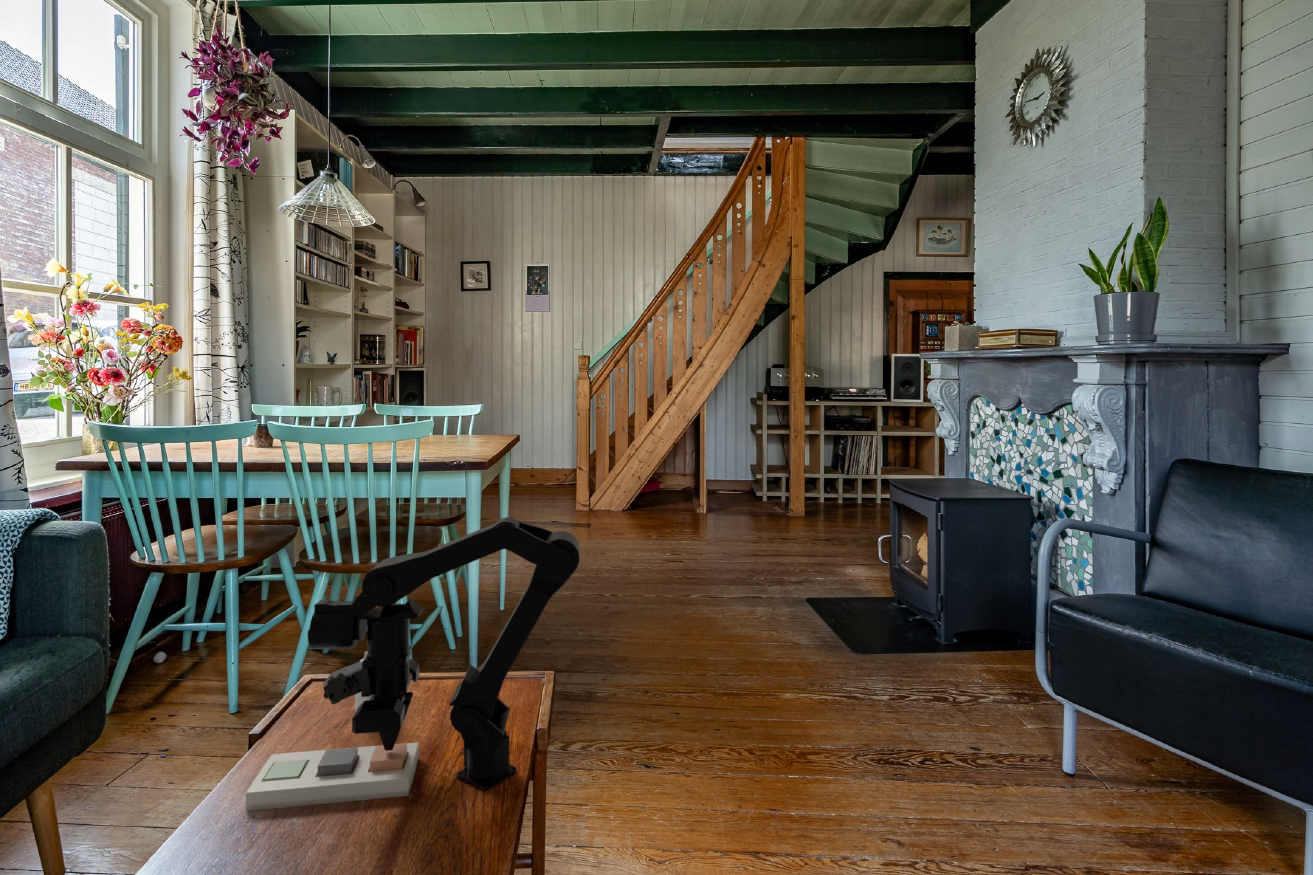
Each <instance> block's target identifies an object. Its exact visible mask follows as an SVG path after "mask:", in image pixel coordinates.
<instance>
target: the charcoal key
mask: <svg viewBox="0 0 1313 875" xmlns="http://www.w3.org/2000/svg"><path fill="white" fill-rule="evenodd" d="M333 749H334V750H332V749H325V750H326V751H325V753H324V755H323V757H322V759H321V761H320V763H319V764H318V777H321V776H332V775H343V774H352V773H353V771H354V768H355V766H356V764H357V761H358V748H356V747H347V748H346V749H344V748H333Z"/></svg>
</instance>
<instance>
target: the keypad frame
mask: <svg viewBox="0 0 1313 875" xmlns="http://www.w3.org/2000/svg"><path fill="white" fill-rule="evenodd" d="M405 744H407V758H406V761H405V764H404V768H403V769H400V770H389V771H378V772H370V760H371V758H372V755H373V753H374V750H375V748H376V746H377V745H369V746H357V747H355V748H358V761H357V764H356V766H355V768H354V771H353V773H352V774H343V775H332V776H321V777H318V764H319V763H320V761H321V759H322V757H323V755H324V753H325V751H326V750H327V749H321V750H310V751H296V752H284V753H273V754H271V755H270V757H269V758H268V759H267V761H266V762H265V764H264V765H263V767H262V768H261V770H260V771H259V773H258V774H257V776H256V777H255V779H254V780H253V782H252V783H251V785H250V786H249V788H248V789H247V791H245V806H246V807H245V808H246V810H245V811H246V812H250V811H251V812H252V811H261V810H273V809H284V808H294V807H303V806H314V805H326V804H335V803H337V804H338V803H344V802H345V803H348V802H356V801H357V802H359V801H369V800H377V799H387V798H388V799H390V798H397V797H398V798H400V797H409V796H410V792H411V789H412V784H413V780H414V777H415V773H416V769H417V765H418V762H419V760H420V759H419V749H420V748H419V742H411V743H410V742H409V743H407V742H406V743H405ZM395 745H396V743H395ZM380 746H383V744H382V745H380ZM334 749H335V748H333V749H331V750H334ZM343 749H346V748H345V747H343ZM306 759H307V766H306V768H305V770H304V771H303V773H302V775H301V777H300V778H298V779H287V780H275V781H264V778H265V776H266V775H267V773H268V772H269V770H270V769H271V767H272V766H273V764H274V763H275V762H282V761H294V760H306Z"/></svg>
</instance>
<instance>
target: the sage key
mask: <svg viewBox="0 0 1313 875" xmlns="http://www.w3.org/2000/svg"><path fill="white" fill-rule="evenodd" d="M306 766H307V759H306V760H294V761H282V762H275V763H274V764H273V766H272V767H271V769H270V770H269V772H268V773H267V775H266V776H265V778H264V781H275V780H287V779H298V778H300V777H301V775H302V773H303V771H304V770H305V768H306Z"/></svg>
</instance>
